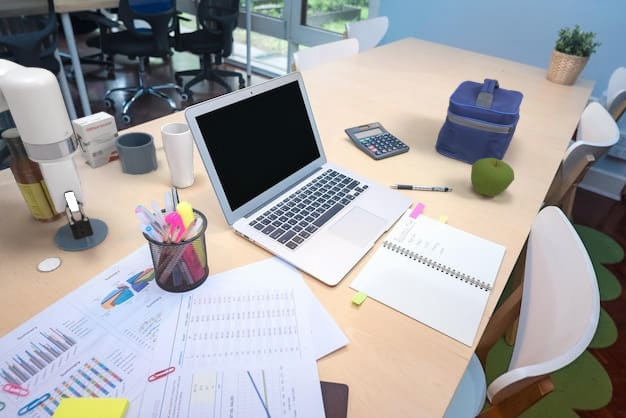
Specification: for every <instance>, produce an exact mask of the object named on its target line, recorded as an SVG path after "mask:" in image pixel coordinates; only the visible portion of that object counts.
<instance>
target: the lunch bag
mask: <svg viewBox="0 0 626 418" xmlns="http://www.w3.org/2000/svg"><path fill="white" fill-rule="evenodd" d="M523 99H524V94H523V93H522V91H518V90H513V89H506V88H502V87H500V83H499V80H498V79H492V78H485V79H483V83H482V82H477V81H473V80H465V81H462V82H461V83H459V84H458V86H457V87H456V88H455V90H454V91H453V92H452V94H450V96H449V100H448V106H447V109H446V116H445V120H444V122H443V124H442V126H441V127H440V130H439V132H438V134H437V139H436V144H435V146H434V149H435V150H436V151H437V152H439V153H440V154H442V155H444V156H446V157H450V158H452V159H455V160H459V161H463V162H466V163H469V164H472V165H474V163H475V162H476V161H478V160H480V159H485V158H495V159H498V160H501V161H503V159H504V157H505V155H506V154H507V151H508V149H509V147H510V145H511V143H512V140H513V138H514V135H515V132H516V128H517V127H518V126H517V125H518V123H519V120H520V118H521V117H520V107H521V105H522V101H523Z"/></svg>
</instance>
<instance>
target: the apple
mask: <svg viewBox="0 0 626 418" xmlns="http://www.w3.org/2000/svg"><path fill="white" fill-rule="evenodd" d="M470 181H471V187H472V188H473V189H474V190H475V191H476V192H477V193H478V194H480V195H481V196H485V197H496V196H499V195H500V194H502V193H503V192H505V191H506V190H507V189H508V188H509V186H510V185H511V184H512V183H513V182H514V181H515V172H514V169H513V168H512V167H511V166H510V165H509V164H508V163H507V162H505V161H503V160H498V159H495V158H485V159H480V160H478V161H476V162H475V163H474V164H472V165H471V171H470Z"/></svg>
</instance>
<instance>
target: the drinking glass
mask: <svg viewBox="0 0 626 418" xmlns="http://www.w3.org/2000/svg"><path fill="white" fill-rule="evenodd" d="M187 124H188V123H186V122H181V121H173V122H168V123H165V124H163V125H162V126H161V128H160V133H161V141H162V146H163V151H164V155H165V157H166V163H167V166H168V172H169V175H170V180H171V184H172V185H173V186H174V187H176V188H179V189H184V188H185V189H186V188H189V187H191V186H192V185H194V183H195V175H194V137H192V136H193V134H192V135H191V132H190V130H189V127H188V125H187Z"/></svg>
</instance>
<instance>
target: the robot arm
mask: <svg viewBox="0 0 626 418" xmlns="http://www.w3.org/2000/svg"><path fill="white" fill-rule="evenodd" d="M8 110H9V112H10V114H11V117H12V119H13V122H14V124H15V126H16V127H15V128H17V129H18V132H19V134H20V137H21V139H22V142H23V144H24V147H25V149H26V151H27V154H28V157H29V158H30V159H31V160H32V161H35V162H38V164H39V167H40V170H41V173H42V175H43V178H44V181H45V183H46V186H47V188H48V191H49V193H50V196H51V199H52V201H53V204H54V206H55V209H56V211H57V212H58V213H61V212H64V211H65V210H66V212H67V215H68V218H69V221H70V222H68V223H69V225H70V228H71V230H72V233H73V236H74V238H75V240H78V239H82V238H85V237H88V236H92V235H93V230H92V227H91V224H90V221H89V218H90V217H89V216H87V214H86V211H85V208H84V207H85V206H86V204H87V201H86V197H85V193H84V189H83V185H82V181H81V177H80V174H79V171H78V167H77V164H76V161H75V157H74V156H75V155H77V153H78V152H79V151H80V148H79V144H78V141H77V138H76V135H75V131H74V128H73V125H72V122H71V120H70V119H71V118H70V117H69V114H68V110H67V106H66V104H65V100H64V97H63V94H62V91H61V88H60V85H59V81H58V79H57V77H56V75H55V74H54V73H53V72H52V71H51V70H47V69H45V68H41V67H28V66H27V67H26V66H24V65H21V64H19V63H16V62H14V61H10V60H8V59H4V58H0V114H1V113H3V112H6V111H8ZM77 204H78V205H77ZM67 206H70V207H67ZM79 208H80V210H81V213H80V211H79ZM70 211H71V212H72V216H71V214H70Z"/></svg>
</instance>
